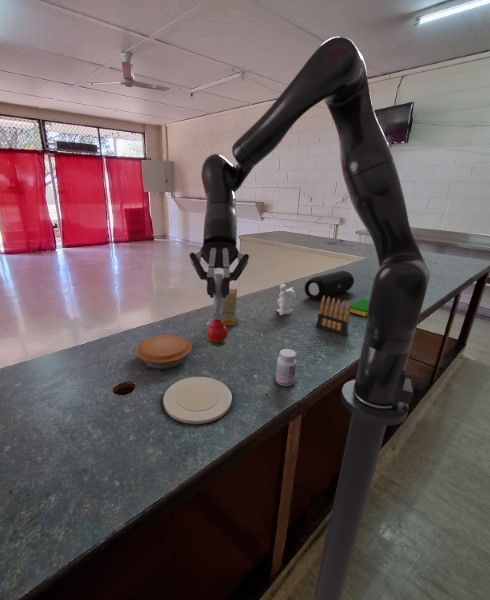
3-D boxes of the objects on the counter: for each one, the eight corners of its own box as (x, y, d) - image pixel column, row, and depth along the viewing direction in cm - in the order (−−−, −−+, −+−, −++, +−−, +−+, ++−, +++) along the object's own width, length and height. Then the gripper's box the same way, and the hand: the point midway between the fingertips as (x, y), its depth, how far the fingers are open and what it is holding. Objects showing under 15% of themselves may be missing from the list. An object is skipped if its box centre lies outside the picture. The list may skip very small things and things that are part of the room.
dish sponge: (347, 311, 127) (348, 306, 126) (361, 303, 137) (361, 297, 136) (365, 316, 123) (366, 311, 122) (378, 307, 132) (379, 302, 131)
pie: (163, 381, 81) (162, 364, 79) (125, 360, 89) (124, 344, 88) (202, 356, 92) (202, 341, 90) (166, 340, 101) (165, 326, 99)
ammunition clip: (347, 334, 108) (353, 301, 104) (345, 335, 107) (351, 302, 103) (318, 324, 115) (322, 293, 111) (316, 326, 113) (320, 295, 109)
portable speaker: (319, 303, 135) (322, 281, 131) (301, 297, 142) (304, 275, 138) (353, 293, 149) (357, 272, 145) (335, 287, 156) (338, 267, 153)
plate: (241, 389, 78) (241, 386, 78) (214, 433, 65) (214, 429, 64) (185, 373, 84) (185, 370, 84) (149, 410, 70) (149, 407, 70)
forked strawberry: (226, 337, 74) (227, 271, 68) (228, 347, 70) (230, 278, 64) (206, 338, 74) (206, 272, 68) (207, 347, 69) (208, 278, 64)
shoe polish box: (235, 319, 117) (237, 289, 113) (235, 325, 112) (236, 294, 108) (222, 319, 117) (223, 288, 113) (221, 324, 113) (221, 293, 109)
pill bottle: (290, 388, 79) (294, 359, 76) (272, 382, 81) (275, 354, 78) (296, 379, 83) (299, 351, 80) (279, 373, 85) (281, 346, 82)
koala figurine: (282, 318, 120) (285, 288, 115) (269, 312, 125) (272, 283, 120) (297, 313, 125) (300, 284, 120) (284, 307, 130) (287, 279, 125)
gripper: (188, 216, 69) (182, 287, 62) (251, 218, 69) (252, 289, 62) (191, 237, 76) (186, 302, 69) (248, 238, 76) (249, 304, 69)
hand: (218, 296), depth 66 cm, fingers closed on forked strawberry
